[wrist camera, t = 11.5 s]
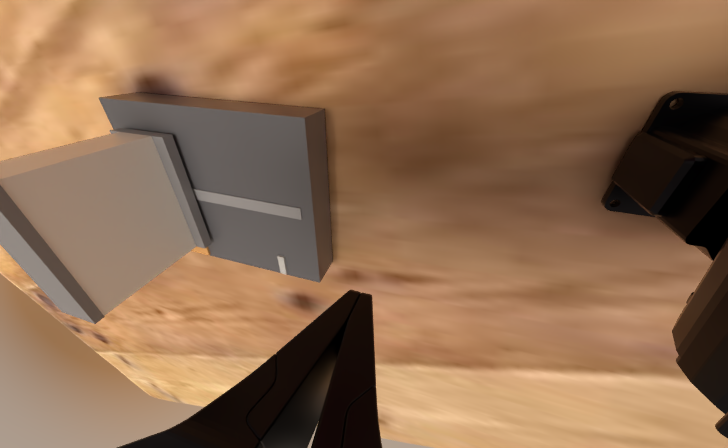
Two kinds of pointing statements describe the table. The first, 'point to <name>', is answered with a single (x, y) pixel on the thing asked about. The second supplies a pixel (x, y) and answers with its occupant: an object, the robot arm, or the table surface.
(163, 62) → the table surface
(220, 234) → the fader console
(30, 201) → the fader knob
